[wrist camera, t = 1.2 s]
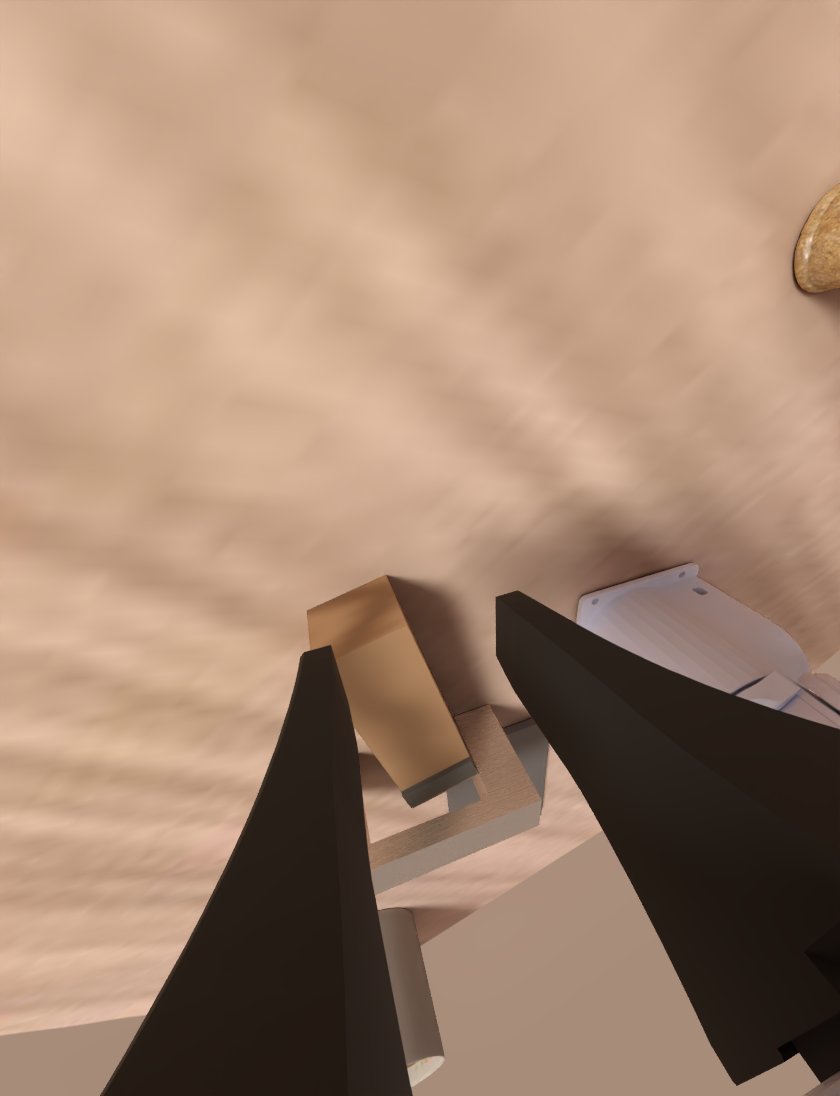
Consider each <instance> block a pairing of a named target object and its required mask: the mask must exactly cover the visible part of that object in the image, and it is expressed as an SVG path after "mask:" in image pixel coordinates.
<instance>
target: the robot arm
mask: <svg viewBox="0 0 840 1096" xmlns="http://www.w3.org/2000/svg"><path fill="white" fill-rule="evenodd" d="M698 570H699V566H698V565H697V564H695V563H689V564H685V565H682V566H679V567H675V568H672V569H669V570H666V571H662V572H659V573H656V574H652V575H649V576H646V577H642V578H639V579H636V580H633V581H629V582H626V583H623V584H619V585H616V586H613V587H609V588H606V589H603V590H600V591H596V592H593V593H590V594H586V595H584V596H582V597H581V598H580V600H579V604H578V612H577V619H576V623H574V622H573V621H571V620H569V619H567V618H565V617H564V616H562V615H560V614H558V613H557V612H555V611H553V610H551V609H550V608H548V607H546V606H544V605H543V604H541V603H539V602H537V601H536V600H534V599H532V598H530V597H529V596H527V595H525V594H523V593H521V592H520V591H515V592H511V593H508V594H504V595H501V596H497V597H496V656H497V658H498V660H499V662H500V664H501V666H502V668H503V670H504V672H505V674H506V676H507V678H508V680H509V682H510V684H511V686H512V688H513V689H514V691H515V693H516V694H517V696H518V697H519V699H520V700H521V702H522V703H523V705H524V706H525V708H526V709H527V711H528V712H529V714H530V715H531V717H532V718H533V720H534V721H535V723H536V724H537V726H538V727H539V729H540V730H541V732H542V733H543V734H544V736H545V737H546V739H547V740H548V742H549V743H550V745H551V746H552V748H553V749H554V751H555V752H556V754H557V755H558V756H559V758H560V759H561V761H562V762H563V764H564V765H565V767H566V768H567V770H568V771H569V773H570V774H571V776H572V777H573V779H574V781H575V782H576V784H577V785H578V787H579V789H580V790H581V792H582V794H583V795H584V797H585V799H586V801H587V802H588V804H589V806H590V808H591V810H592V811H593V813H594V815H595V817H596V819H597V820H598V822H599V824H600V826H601V828H602V829H603V831H604V833H605V834H606V837H607V838H608V840H609V842H610V844H611V846H612V847H613V850H614V851H615V853H616V855H617V857H618V859H619V861H620V863H621V864H622V866H623V868H624V870H625V872H626V874H627V876H628V877H629V879H630V881H631V883H632V885H633V887H634V889H635V891H636V893H637V895H638V897H639V899H640V901H641V902H642V905H643V906H644V909H645V910H646V912H647V914H648V916H649V918H650V920H651V922H652V924H653V926H654V928H655V930H656V932H657V934H658V936H659V938H660V940H661V942H662V944H663V946H664V948H665V950H666V952H667V954H668V956H669V958H670V960H671V962H672V964H673V967H674V969H675V971H676V973H677V975H678V977H679V979H680V981H681V983H682V985H683V987H684V989H685V991H686V993H687V995H688V997H689V999H690V1002H691V1004H692V1006H693V1008H694V1010H695V1012H696V1014H697V1016H698V1019H699V1021H700V1023H701V1025H702V1027H703V1029H704V1031H705V1033H706V1036H707V1038H708V1040H709V1042H710V1044H711V1046H712V1048H713V1049H714V1051H715V1053H716V1054H717V1056H718V1057H719V1059H720V1061H721V1063H722V1064H723V1066H724V1067H725V1069H726V1071H727V1073H728V1074H729V1076H730V1078H731V1079H732V1081H733V1082H734V1083H735V1084H736V1086H738V1085H740V1084H741V1083H744V1082H745V1081H748V1080H749V1079H752V1078H754V1077H755V1076H757V1075H760V1074H762V1073H764V1072H765V1071H768V1070H770V1069H771V1068H773V1067H776V1066H777V1065H779V1064H782V1063H783V1062H785V1061H787V1060H788V1059H790V1058H791V1057H793V1056H794V1055H796V1054H797V1053H800V1054H801V1056H802V1057H803V1059H804V1060H805V1061H806V1063H807V1064H808V1066H809V1067H810V1068H811V1070H812V1071H813V1073H814V1074H815V1075H816V1077H817V1078H818V1080H819V1081H820V1082H821V1084H820V1085H818V1086H817V1087H815V1088H814V1089H812V1090H811V1091H809V1092H808V1093H806V1094H805V1095H803V1096H840V681H838V680H836V679H835V678H833V677H832V676H830V675H828V674H814V675H812V674H811V671H810V666H809V662H808V660H807V658H806V656H805V654H804V652H803V651H802V649H801V648H800V647H799V645H798V644H797V643H796V641H795V640H794V639H793V638H792V637H791V636H790V635H789V634H788V633H787V632H786V631H785V630H783V629H782V628H781V627H780V626H778V625H777V624H775V623H774V622H772V621H770V620H769V619H767V618H765V617H764V616H762V615H760V614H759V613H757V612H755V611H754V610H752V609H750V608H749V607H747V606H745V605H744V604H742V603H740V602H739V601H737V600H735V599H734V598H732V597H730V596H729V595H727V594H725V593H724V592H722V591H720V590H719V589H717V588H715V587H714V586H712V585H710V584H709V583H707V582H705V581H704V580H702V579H700V578H699V577H697V574H698ZM809 689H810V690H811V691H813V692H814V693H815V694H814V693H813V692H811V691H810V690H809ZM816 694H817V695H818V696H817V695H816ZM100 1096H413V1095H412V1090H411V1085H410V1080H409V1075H408V1070H407V1064H406V1059H405V1054H404V1049H403V1043H402V1038H401V1033H400V1028H399V1023H398V1017H397V1012H396V1007H395V1002H394V996H393V991H392V986H391V980H390V975H389V970H388V964H387V959H386V953H385V948H384V943H383V937H382V932H381V926H380V921H379V915H378V910H377V904H376V899H375V893H374V888H373V882H372V876H371V869H370V862H369V854H368V845H367V835H366V825H365V815H364V806H363V796H362V786H361V776H360V766H359V757H358V747H357V742H356V737H355V732H354V727H353V722H352V717H351V712H350V707H349V703H348V699H347V696H346V693H345V689H344V686H343V683H342V680H341V676H340V673H339V670H338V666H337V663H336V660H335V656H334V653H333V650H332V647H331V645H328V646H324V647H321V648H317V649H314V650H310V651H307V652H304V653H303V654H302V656H301V657H300V662H299V668H298V673H297V677H296V682H295V686H294V690H293V693H292V697H291V701H290V704H289V708H288V711H287V714H286V717H285V720H284V724H283V727H282V730H281V733H280V736H279V739H278V742H277V745H276V748H275V751H274V753H273V756H272V759H271V761H270V764H269V767H268V769H267V772H266V775H265V777H264V780H263V782H262V785H261V788H260V790H259V793H258V795H257V798H256V800H255V803H254V805H253V807H252V810H251V812H250V814H249V817H248V819H247V821H246V824H245V826H244V828H243V830H242V833H241V835H240V837H239V839H238V841H237V844H236V846H235V848H234V850H233V852H232V854H231V857H230V859H229V861H228V863H227V865H226V867H225V869H224V871H223V873H222V875H221V877H220V879H219V881H218V883H217V885H216V887H215V889H214V891H213V893H212V895H211V897H210V899H209V901H208V903H207V905H206V907H205V909H204V911H203V913H202V915H201V917H200V919H199V921H198V923H197V925H196V927H195V929H194V931H193V933H192V934H191V936H190V938H189V940H188V942H187V944H186V946H185V948H184V949H183V951H182V953H181V955H180V957H179V959H178V960H177V962H176V964H175V966H174V967H173V969H172V971H171V973H170V975H169V976H168V978H167V980H166V982H165V983H164V985H163V987H162V989H161V991H160V992H159V994H158V996H157V998H156V999H155V1001H154V1003H153V1005H152V1007H151V1008H150V1010H149V1012H148V1014H147V1016H146V1017H145V1019H144V1021H143V1023H142V1025H141V1026H140V1028H139V1030H138V1032H137V1033H136V1035H135V1037H134V1039H133V1041H132V1042H131V1044H130V1046H129V1048H128V1049H127V1051H126V1053H125V1055H124V1056H123V1058H122V1060H121V1061H120V1063H119V1065H118V1066H117V1068H116V1070H115V1071H114V1073H113V1075H112V1077H111V1078H110V1080H109V1082H108V1083H107V1085H106V1087H105V1088H104V1090H103V1092H102V1093H101V1095H100Z"/></svg>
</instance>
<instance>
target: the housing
mask: <svg viewBox="0 0 840 1096" xmlns="http://www.w3.org/2000/svg"><path fill="white" fill-rule="evenodd" d="M454 721H455V724H456V726H457V728H458V730H459V733H460V735H461V737H462V739H463V742H464V744H465V746H466V748H467V751H468V753H469V755H470V758H471V760H472V762H473V764H474V767H475V769H476V771H477V773H478V775H476V776H474V777H472V780H473V782H474V785H475V787H476V789H477V792H478V794H479V797H480V799H481V800H480V801H477V802H475V803H472V804H470V805H467V806H465V807H462V808H460V809H457V810H455V811H452V812H450V813H447V814H445V815H442V816H440V817H437V818H435V819H432V820H430V821H427V822H425V823H422V824H420V825H417V826H415V827H412V828H410V829H407V830H405V831H402V832H400V833H397V834H395V835H392V836H390V837H387V838H385V839H382V840H380V841H377V842H374V843H372V844H371V843H370V837H369V832H368V826H367V820H366V814H365V809H364V815H365V825H366V835H367V845H368V854H369V862H370V869H371V876H372V882H373V888H374V893H375V895H376V894H379V893H381V892H383V891H386V890H388V889H390V888H393V887H395V886H397V885H400V884H402V883H405V882H407V881H409V880H412V879H414V878H416V877H419V876H421V875H423V874H426V873H428V872H430V871H433V870H435V869H437V868H440V867H442V866H444V865H447V864H449V863H451V862H454V861H456V860H458V859H461V858H463V857H465V856H468V855H470V854H472V853H475V852H477V851H480V850H482V849H484V848H487V847H489V846H491V845H494V844H496V843H498V842H501V841H503V840H505V839H508V838H510V837H512V836H515V835H517V834H519V833H522V832H524V831H526V830H529V829H531V828H533V827H536V826H538V825H539V821H540V811H541V801H542V800H541V798H540V796H539V794H538V792H537V791H536V789H535V787H534V785H533V783H532V782H531V780H530V778H529V776H528V774H527V772H526V771H525V769H524V767H523V765H522V763H521V762H520V760H519V758H518V756H517V754H516V753H515V751H514V749H513V747H512V745H511V743H510V742H509V740H508V738H507V736H506V734H505V733H504V731H503V729H502V727H501V725H500V724H499V722H498V720H497V718H496V716H495V714H494V713H493V711H492V709H491V707H490V705H489V704H488V705H486V706H483V707H480V708H477V709H474V710H471V711H468V712H465V713H463V714H460V715H457V716H454ZM363 806H364V803H363Z"/></svg>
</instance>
